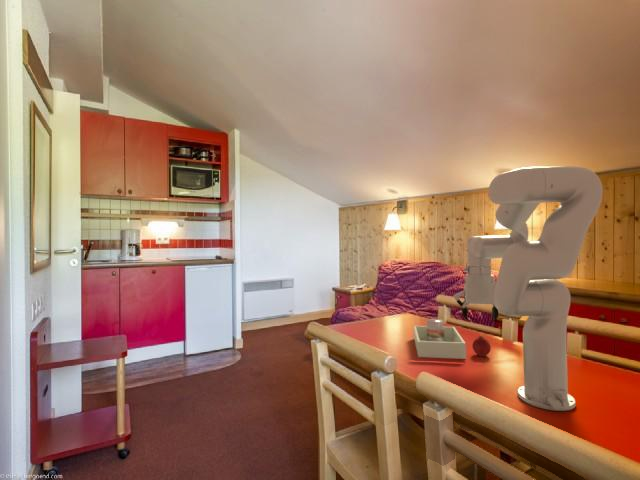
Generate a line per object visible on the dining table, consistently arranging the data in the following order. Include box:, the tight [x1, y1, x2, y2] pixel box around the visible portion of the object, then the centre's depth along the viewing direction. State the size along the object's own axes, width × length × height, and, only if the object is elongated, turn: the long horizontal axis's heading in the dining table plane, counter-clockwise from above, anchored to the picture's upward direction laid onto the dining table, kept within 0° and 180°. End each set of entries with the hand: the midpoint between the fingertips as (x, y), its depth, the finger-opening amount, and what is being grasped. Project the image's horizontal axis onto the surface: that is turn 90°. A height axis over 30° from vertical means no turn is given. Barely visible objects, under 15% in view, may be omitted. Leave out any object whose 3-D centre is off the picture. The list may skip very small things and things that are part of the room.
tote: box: [413, 325, 467, 360], centre depth 131 cm, size 22×16×6 cm
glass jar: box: [426, 318, 445, 342], centre depth 137 cm, size 6×6×9 cm
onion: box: [472, 334, 492, 358], centre depth 121 cm, size 6×6×8 cm
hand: (479, 318), depth 122 cm, fingers open, 9 cm apart
